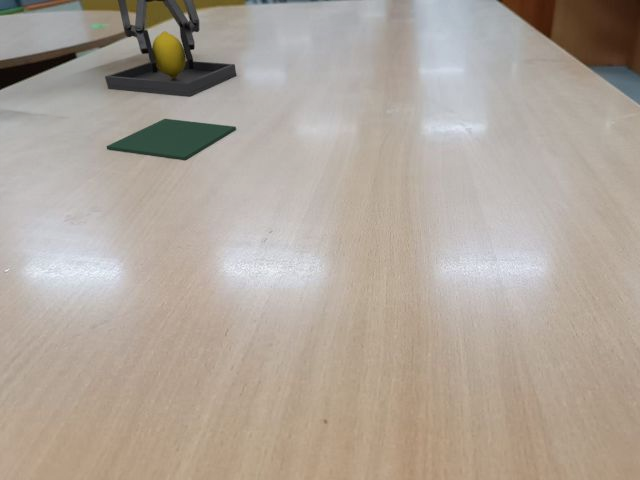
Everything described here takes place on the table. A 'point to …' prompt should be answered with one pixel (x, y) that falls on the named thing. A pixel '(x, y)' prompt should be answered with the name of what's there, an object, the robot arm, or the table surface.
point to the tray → (162, 83)
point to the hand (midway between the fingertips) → (172, 65)
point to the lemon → (169, 54)
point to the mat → (172, 138)
